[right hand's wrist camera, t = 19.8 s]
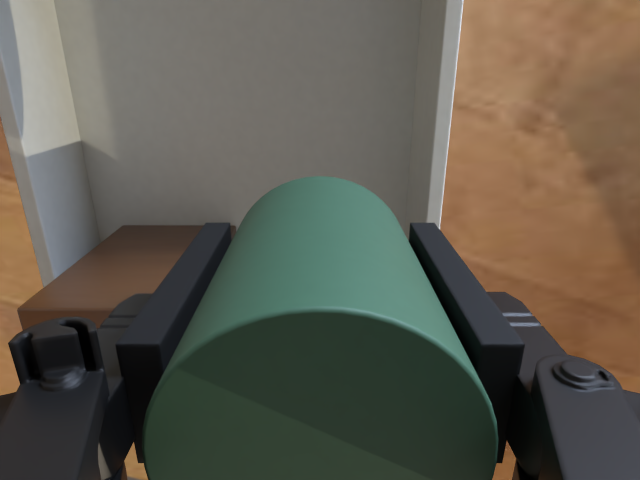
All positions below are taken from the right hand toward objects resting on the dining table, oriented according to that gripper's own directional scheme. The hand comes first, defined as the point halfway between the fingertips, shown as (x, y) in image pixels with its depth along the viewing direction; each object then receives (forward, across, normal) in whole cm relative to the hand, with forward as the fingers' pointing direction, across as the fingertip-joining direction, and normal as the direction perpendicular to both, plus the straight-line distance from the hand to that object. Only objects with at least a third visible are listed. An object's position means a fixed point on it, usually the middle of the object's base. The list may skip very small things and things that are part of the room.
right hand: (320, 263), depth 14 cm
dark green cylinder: (0, 0, 0) cm, 0 cm away
